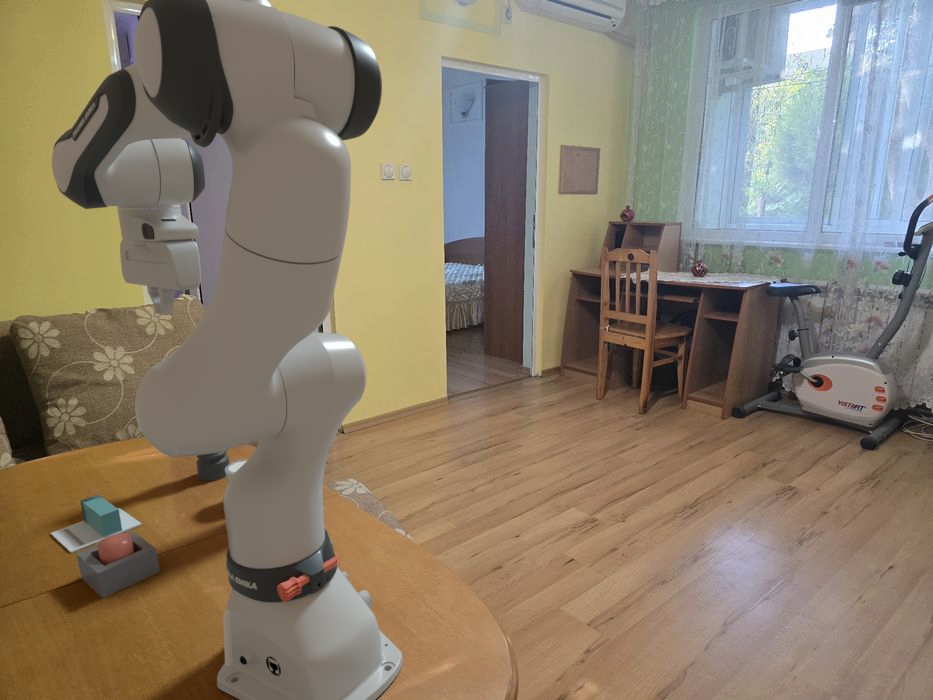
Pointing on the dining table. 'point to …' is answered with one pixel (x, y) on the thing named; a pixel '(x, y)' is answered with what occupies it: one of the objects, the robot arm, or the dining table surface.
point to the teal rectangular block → (101, 515)
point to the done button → (115, 548)
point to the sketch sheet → (89, 533)
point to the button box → (118, 567)
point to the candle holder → (212, 466)
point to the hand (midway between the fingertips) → (164, 314)
